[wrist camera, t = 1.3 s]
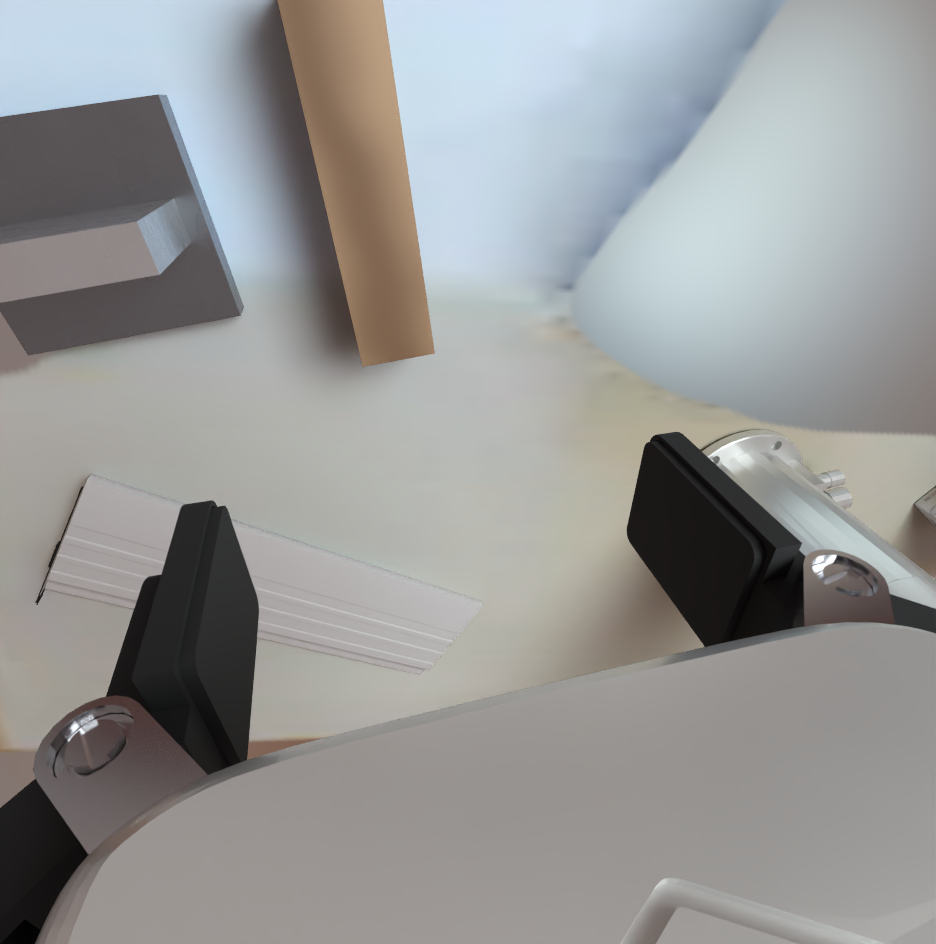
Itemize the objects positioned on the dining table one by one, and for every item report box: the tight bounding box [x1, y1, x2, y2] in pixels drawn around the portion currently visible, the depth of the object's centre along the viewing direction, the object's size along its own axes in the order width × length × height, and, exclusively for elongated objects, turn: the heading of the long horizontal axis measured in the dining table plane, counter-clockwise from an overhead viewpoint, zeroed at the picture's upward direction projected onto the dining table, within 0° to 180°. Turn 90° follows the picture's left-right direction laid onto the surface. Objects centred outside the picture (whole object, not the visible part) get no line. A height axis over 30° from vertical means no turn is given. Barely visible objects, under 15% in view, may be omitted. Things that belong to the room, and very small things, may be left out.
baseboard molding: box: [35, 474, 482, 675], centre depth 43 cm, size 31×3×12 cm
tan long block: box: [277, 0, 435, 367], centre depth 27 cm, size 4×16×5 cm, turn 6°
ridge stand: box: [0, 95, 244, 355], centre depth 24 cm, size 11×10×8 cm
